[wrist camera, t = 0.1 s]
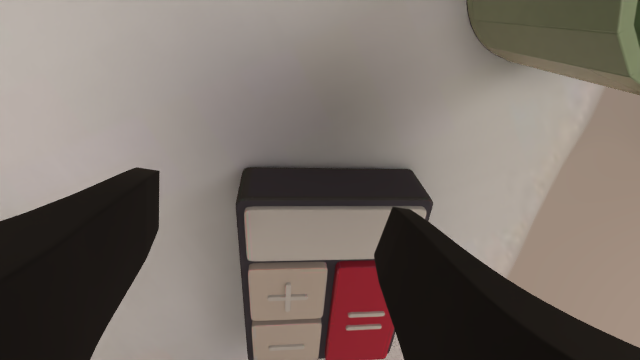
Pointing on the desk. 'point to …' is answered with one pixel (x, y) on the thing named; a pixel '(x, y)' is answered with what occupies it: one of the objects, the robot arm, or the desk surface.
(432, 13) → the desk surface
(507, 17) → the mug
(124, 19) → the desk surface
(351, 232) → the calculator
